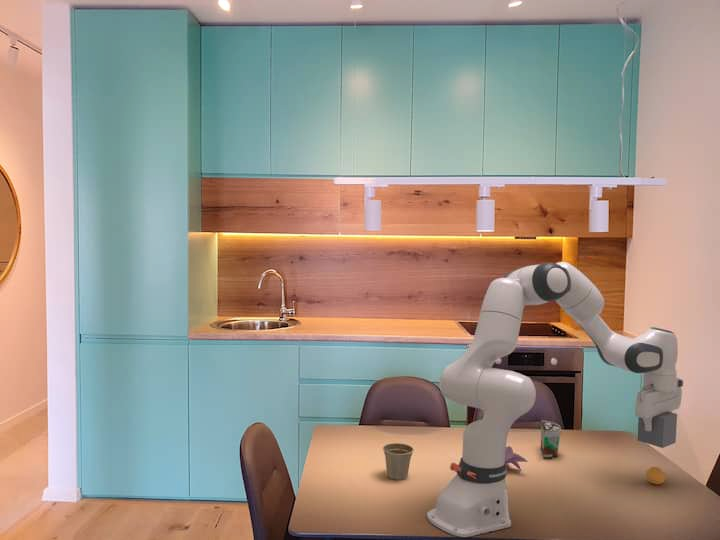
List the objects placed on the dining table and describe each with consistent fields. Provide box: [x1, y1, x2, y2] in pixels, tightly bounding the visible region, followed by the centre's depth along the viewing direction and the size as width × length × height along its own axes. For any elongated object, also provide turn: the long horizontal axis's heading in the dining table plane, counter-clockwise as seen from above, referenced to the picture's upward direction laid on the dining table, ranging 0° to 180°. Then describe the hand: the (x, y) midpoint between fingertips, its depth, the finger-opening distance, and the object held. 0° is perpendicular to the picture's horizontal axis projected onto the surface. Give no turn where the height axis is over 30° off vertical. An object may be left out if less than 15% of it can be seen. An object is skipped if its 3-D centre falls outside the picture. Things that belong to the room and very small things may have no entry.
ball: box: [646, 466, 666, 485], centre depth 180 cm, size 5×5×5 cm
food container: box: [540, 419, 563, 460], centre depth 203 cm, size 12×6×10 cm, turn 168°
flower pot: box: [382, 442, 415, 481], centre depth 182 cm, size 9×9×9 cm
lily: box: [505, 445, 528, 471], centre depth 189 cm, size 12×12×10 cm
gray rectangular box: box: [637, 411, 678, 449], centre depth 180 cm, size 8×8×9 cm
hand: (656, 427), depth 180 cm, fingers closed on gray rectangular box, 8 cm apart
